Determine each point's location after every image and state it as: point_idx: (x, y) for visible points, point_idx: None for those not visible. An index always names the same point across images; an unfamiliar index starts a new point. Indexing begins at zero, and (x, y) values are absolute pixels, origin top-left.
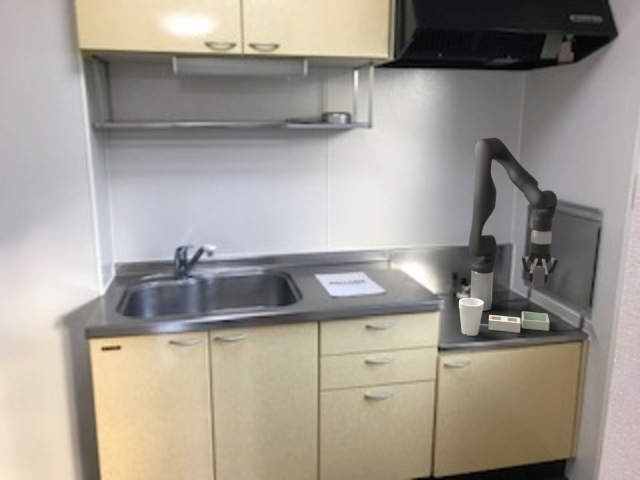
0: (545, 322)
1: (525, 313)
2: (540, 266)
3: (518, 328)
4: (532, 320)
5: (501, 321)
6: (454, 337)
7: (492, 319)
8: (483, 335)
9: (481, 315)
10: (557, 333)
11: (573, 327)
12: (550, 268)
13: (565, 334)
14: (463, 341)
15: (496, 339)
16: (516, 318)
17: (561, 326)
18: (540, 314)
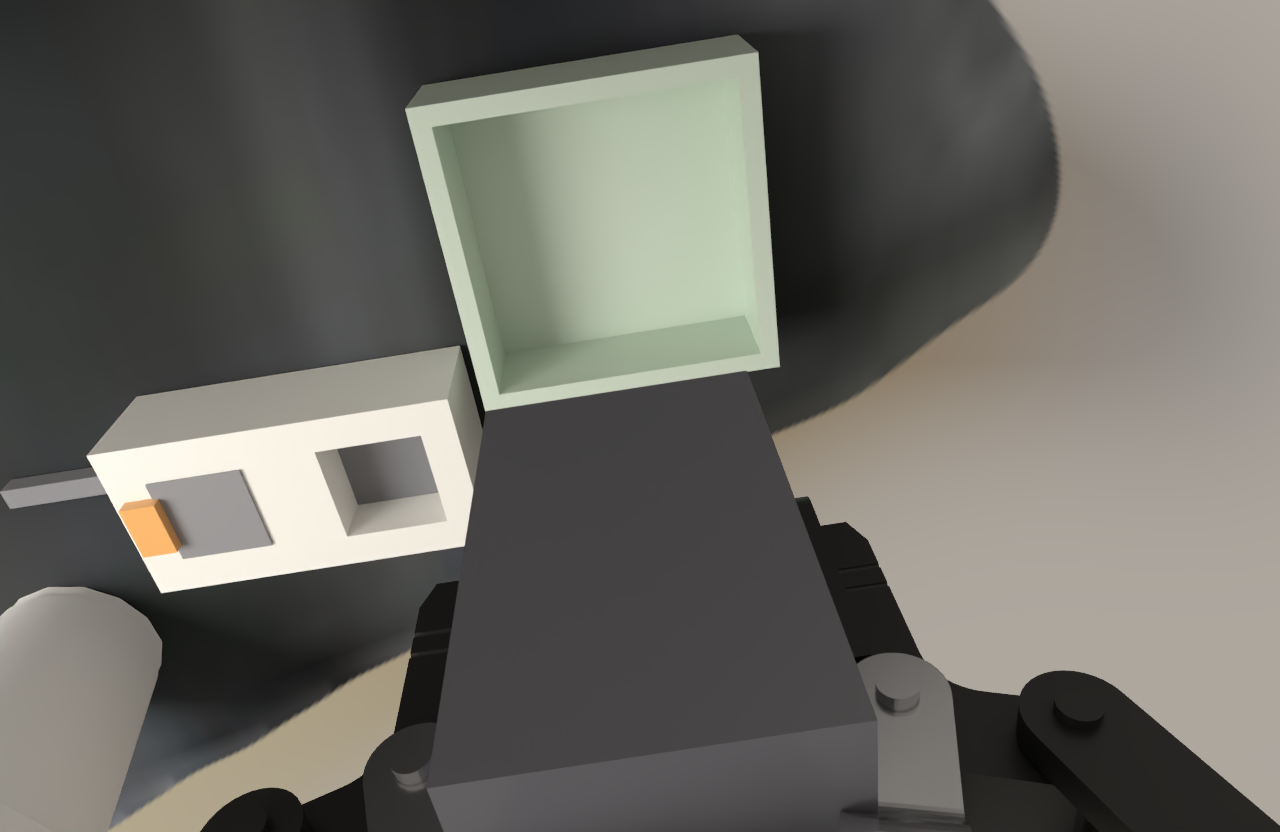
0: (736, 371)
1: (462, 116)
2: (731, 777)
3: None
4: (591, 380)
5: (292, 571)
6: None
7: (184, 560)
8: (219, 648)
9: (105, 804)
10: (843, 353)
11: (1036, 107)
12: (1087, 807)
13: (919, 346)
14: (135, 787)
15: (348, 672)
16: (414, 435)
17: (903, 134)
18: (663, 86)
